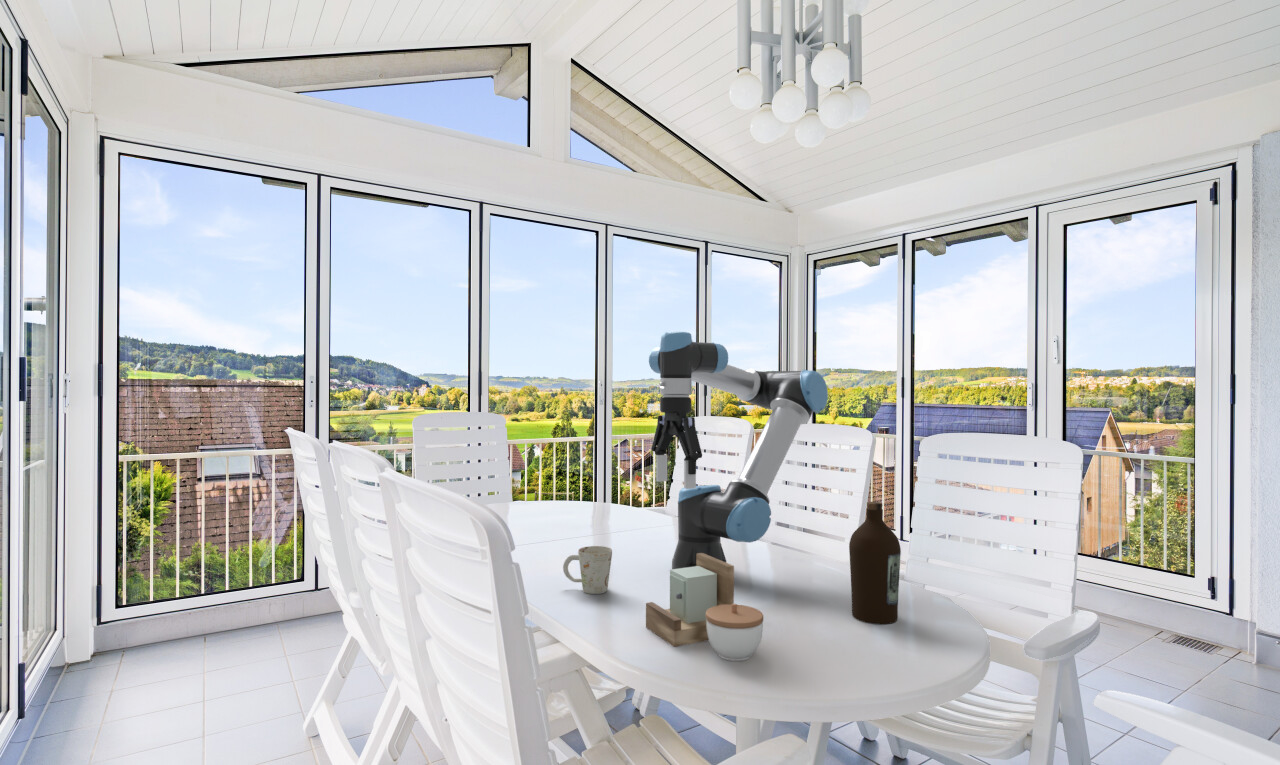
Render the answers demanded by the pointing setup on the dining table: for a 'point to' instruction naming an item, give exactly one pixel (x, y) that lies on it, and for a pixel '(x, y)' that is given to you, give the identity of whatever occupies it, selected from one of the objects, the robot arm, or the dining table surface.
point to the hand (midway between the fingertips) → (675, 484)
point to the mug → (592, 568)
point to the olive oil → (874, 569)
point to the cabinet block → (692, 593)
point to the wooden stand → (694, 632)
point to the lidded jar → (734, 630)
